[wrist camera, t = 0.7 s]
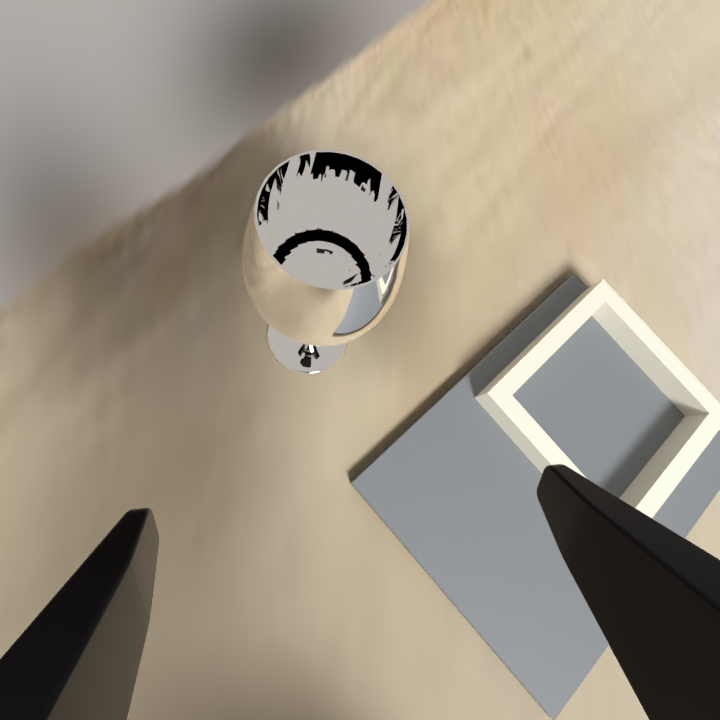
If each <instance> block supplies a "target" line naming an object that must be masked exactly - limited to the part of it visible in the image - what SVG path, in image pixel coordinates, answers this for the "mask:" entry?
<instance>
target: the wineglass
mask: <svg viewBox="0 0 720 720" xmlns="http://www.w3.org/2000/svg"><path fill="white" fill-rule="evenodd" d="M409 229H410V225H409V217H408V210H407V207H406V205H405V202H404V200H403V197H402V195H401V193H400V191H399V189H398V188H397V186H396V185H395V184H394V182H393V181H392V180H391V179H390V178H389V177H388V176H387V175H386V174H385V173H384V172H383V171H382V170H381V169H379V168H378V167H377V166H376V165H374V164H372V163H370V162H369V161H367V160H365V159H363V158H361V157H358V156H356V155H354V154H351V153H346V152H342V151H338V150H314V151H306V152H303V153H300V154H297V155H295V156H292V157H290V158H288V159H287V160H285V161H283V162H282V163H280V164H279V165H277V166H276V167H275V168H274V169H273V170H272V171H271V172H270V173H269V175H268V176H267V177H266V178H265V180H264V181H263V183H262V185H261V187H260V189H259V191H258V193H257V195H256V197H255V200H254V203H253V206H252V208H251V211H250V214H249V218H248V221H247V226H246V230H245V234H244V241H243V248H242V264H243V276H244V281H245V285H246V288H247V291H248V294H249V296H250V298H251V300H252V302H253V304H254V306H255V307H256V309H257V311H258V313H259V314H260V315H261V316H262V318H263V319H264V320H265V322H266V323H267V324H269V326H268V331H267V338H268V344H269V347H270V350H271V352H272V353H273V355H274V356H275V358H276V359H277V360H278V361H279V362H280V363H281V364H282V365H283V366H285V367H286V368H288V369H290V370H292V371H295V372H298V373H301V374H315V373H320V372H323V371H325V370H328V369H329V368H331V367H332V366H334V365H335V364H336V363H337V362H338V361H339V360H340V359H341V357H342V356H343V354H344V353H345V350H346V347H347V343H348V342H350V341H352V340H354V339H356V338H358V337H360V336H362V335H363V334H365V333H366V332H368V331H369V330H370V329H372V328H373V327H374V326H375V325H376V324H377V323H378V322H379V321H380V320H381V319H382V318H383V317H384V315H385V314H386V313H387V311H388V310H389V308H390V307H391V305H392V303H393V301H394V300H395V298H396V296H397V293H398V290H399V288H400V285H401V282H402V279H403V275H404V271H405V267H406V259H407V253H408V247H409Z"/></svg>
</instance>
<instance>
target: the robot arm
mask: <svg viewBox="0 0 720 720" xmlns="http://www.w3.org/2000/svg"><path fill="white" fill-rule="evenodd" d="M537 498H538V501H539V503H540V505H541V508H542V510H543V513H544V515H545V517H546V520H547V522H548V525H549V527H550V529H551V532H552V534H553V537H554V539H555V541H556V544H557V546H558V548H559V551H560V553H561V555H562V557H563V559H564V561H565V563H566V565H567V567H568V569H569V571H570V573H571V575H572V576H573V578H574V580H575V582H576V584H577V586H578V588H579V589H580V591H581V593H582V595H583V597H584V599H585V601H586V603H587V604H588V606H589V608H590V610H591V612H592V614H593V616H594V617H595V619H596V621H597V623H598V625H599V627H600V629H601V631H602V632H603V634H604V636H605V638H606V640H607V642H608V644H609V645H610V647H611V649H612V651H613V653H614V655H615V657H616V658H617V660H618V662H619V664H620V666H621V668H622V670H623V672H624V673H625V675H626V677H627V679H628V681H629V683H630V685H631V686H632V688H633V690H634V692H635V694H636V696H637V698H638V700H639V701H640V703H641V705H642V707H643V709H644V711H645V713H646V714H647V716H648V718H649V720H720V560H719V559H717V558H716V557H714V556H712V555H711V554H709V553H708V552H706V551H704V550H703V549H701V548H699V547H698V546H696V545H695V544H693V543H691V542H690V541H688V540H686V539H685V538H683V537H681V536H680V535H678V534H677V533H675V532H673V531H672V530H670V529H668V528H667V527H665V526H664V525H662V524H660V523H659V522H657V521H655V520H654V519H652V518H650V517H649V516H647V515H646V514H644V513H642V512H641V511H639V510H637V509H636V508H634V507H633V506H631V505H629V504H628V503H626V502H624V501H623V500H621V499H619V498H618V497H616V496H615V495H613V494H611V493H610V492H608V491H606V490H605V489H603V488H602V487H600V486H598V485H597V484H595V483H593V482H592V481H590V480H588V479H587V478H585V477H584V476H582V475H580V474H579V473H577V472H575V471H574V470H572V469H571V468H569V467H567V466H565V465H563V464H555V465H548V466H546V467H545V468H544V470H543V473H542V476H541V478H540V481H539V484H538V487H537ZM158 544H159V536H158V531H157V527H156V524H155V520H154V516H153V513H152V511H151V509H149V508H141V509H132V510H129V511H128V512H126V514H125V515H124V516H123V517H122V518H121V519H120V520H119V522H118V523H117V524H116V525H115V526H114V527H113V529H112V530H111V531H110V532H109V533H108V534H107V536H106V537H105V538H104V539H103V540H102V541H101V543H100V544H99V545H98V546H97V547H96V548H95V550H94V551H93V552H92V553H91V554H90V555H89V557H88V558H87V559H86V560H85V561H84V562H83V563H82V565H81V566H80V567H79V568H78V569H77V570H76V572H75V573H74V574H73V575H72V576H71V577H70V579H69V580H68V581H67V582H66V583H65V584H64V586H63V587H62V588H61V589H60V590H59V591H58V593H57V594H56V595H55V596H54V597H53V598H52V600H51V601H50V602H49V603H48V604H47V605H46V607H45V608H44V609H43V610H42V611H41V612H40V614H39V615H38V616H37V617H36V618H35V619H34V620H33V622H32V623H31V624H30V625H29V626H28V627H27V629H26V630H25V631H24V632H23V633H22V634H21V636H20V637H19V638H18V639H17V640H16V641H15V643H14V644H13V645H12V646H11V647H10V648H9V650H8V651H7V652H6V653H5V654H4V655H3V657H2V658H1V659H0V720H127V716H128V711H129V707H130V703H131V698H132V694H133V690H134V686H135V681H136V677H137V673H138V668H139V664H140V660H141V656H142V651H143V647H144V643H145V638H146V634H147V629H148V624H149V619H150V612H151V604H152V596H153V587H154V579H155V570H156V562H157V553H158Z"/></svg>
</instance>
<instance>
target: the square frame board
mask: <svg viewBox="0 0 720 720" xmlns="http://www.w3.org/2000/svg"><path fill="white" fill-rule="evenodd" d="M719 429H720V403H719V402H718V401H717V400H716V399H715V398H714V397H713V396H712V395H711V394H710V392H709V391H708V390H707V389H706V388H705V387H704V386H703V385H702V384H701V383H700V382H699V381H698V380H697V379H696V378H695V376H694V375H693V374H692V373H691V372H690V371H689V370H688V369H687V368H686V367H685V366H684V365H683V364H682V363H681V361H680V360H679V359H678V358H677V357H676V356H675V355H674V354H673V353H672V352H671V351H670V350H669V349H668V348H667V347H666V345H665V344H664V343H663V342H662V341H661V340H660V339H659V338H658V337H657V336H656V335H655V334H654V333H653V332H652V330H651V329H650V328H649V327H648V326H647V325H646V324H645V323H644V322H643V321H642V320H641V319H640V318H639V317H638V316H637V314H636V313H635V312H634V311H633V310H632V309H631V308H630V307H629V306H628V305H627V304H626V303H625V302H624V301H623V300H622V298H621V297H620V296H619V295H618V294H617V293H616V292H615V291H614V290H613V289H612V288H611V287H610V286H609V285H608V283H607V282H606V281H605V280H604V279H603V280H601V281H600V282H598V283H596V284H595V285H593V286H591V287H589V288H587V287H586V286H585V285H584V284H583V282H582V281H581V280H580V279H579V278H578V277H577V276H576V275H575V274H573V275H572V276H570V277H569V278H568V279H567V280H566V281H564V282H563V283H562V284H561V285H560V286H559V287H558V288H557V289H556V290H555V291H554V292H553V293H552V294H551V295H550V296H549V297H547V298H546V299H545V300H544V301H543V302H542V303H541V304H540V305H539V306H538V307H537V308H536V309H535V310H534V311H533V312H531V313H530V314H529V315H528V316H527V317H526V318H525V319H524V320H523V321H522V322H521V323H520V324H519V325H518V326H517V327H515V328H514V329H513V330H512V331H511V332H510V333H509V334H508V335H507V336H506V337H505V338H504V339H503V340H502V341H501V342H500V343H498V344H497V345H496V346H495V347H494V348H493V349H492V350H491V351H490V352H489V353H488V354H487V355H486V356H485V357H484V358H482V359H481V360H480V361H479V362H478V363H477V364H476V365H475V366H474V367H473V368H472V369H471V370H470V371H469V372H468V373H467V374H465V375H464V376H463V377H462V378H461V379H460V380H459V381H458V382H457V383H456V384H455V385H454V386H453V387H452V388H451V389H449V390H448V391H447V392H446V393H445V394H444V395H443V396H442V397H441V398H440V399H439V400H438V401H437V402H436V403H435V404H433V405H432V406H431V407H430V408H429V409H428V410H427V411H426V412H425V413H424V414H423V415H422V416H421V417H420V418H419V419H418V420H416V421H415V422H414V423H413V424H412V425H411V426H410V427H409V428H408V429H407V430H406V431H405V432H404V433H403V434H402V435H400V436H399V437H398V438H397V439H396V440H395V441H394V442H393V443H392V444H391V445H390V446H389V447H388V448H387V449H386V450H385V451H383V452H382V453H381V454H380V455H379V456H378V457H377V458H376V459H375V460H374V461H373V462H372V463H371V464H370V465H369V466H367V467H366V468H365V469H364V470H363V471H362V472H361V473H360V474H359V475H358V476H357V477H356V478H355V479H354V480H353V481H351V482H350V483H351V484H352V486H353V487H354V488H355V489H356V490H357V491H358V493H359V494H360V495H361V496H362V497H363V498H364V500H365V501H366V502H367V503H368V504H369V506H370V507H371V508H372V509H373V510H374V511H375V513H376V514H377V515H378V516H379V517H380V518H381V520H382V521H383V522H384V523H385V524H386V526H387V527H388V528H389V529H390V530H391V531H392V533H393V534H394V535H395V536H396V537H397V538H398V540H399V541H400V542H401V543H402V544H403V546H404V547H405V548H406V549H407V550H408V551H409V553H410V554H411V555H412V556H413V557H414V558H415V560H416V561H417V562H418V563H419V564H420V566H421V567H422V568H423V569H424V570H425V571H426V573H427V574H428V575H429V576H430V577H431V578H432V580H433V581H434V582H435V583H436V584H437V586H438V587H439V588H440V589H441V590H442V591H443V593H444V594H445V595H446V596H447V597H448V598H449V600H450V601H451V602H452V603H453V604H454V606H455V607H456V608H457V609H458V610H459V611H460V613H461V614H462V615H463V616H464V617H465V618H466V620H467V621H468V622H469V623H470V624H471V625H472V627H473V628H474V629H475V630H476V631H477V633H478V634H479V635H480V636H481V637H482V638H483V640H484V641H485V642H486V643H487V644H488V645H489V647H490V648H491V649H492V650H493V651H494V653H495V654H496V655H497V656H498V657H499V658H500V660H501V661H502V662H503V663H504V664H505V665H506V667H507V668H508V669H509V670H510V671H511V673H512V674H513V675H514V676H515V677H516V678H517V680H518V681H519V682H520V683H521V684H522V685H523V687H524V688H525V689H526V690H527V691H528V693H529V694H530V695H531V696H532V697H533V698H534V700H535V701H536V702H537V703H538V704H539V705H540V707H541V708H542V709H543V710H544V711H545V713H546V714H547V715H548V716H549V717H551V718H552V719H553V720H555V719H556V718H557V716H558V715H559V714H560V712H561V711H562V709H563V708H564V707H565V705H566V704H567V702H568V701H569V700H570V698H571V697H572V695H573V694H574V693H575V691H576V690H577V688H578V687H579V686H580V684H581V683H582V681H583V680H584V679H585V677H586V676H587V674H588V673H589V672H590V670H591V669H592V667H593V666H594V665H595V663H596V662H597V660H598V659H599V658H600V656H601V655H602V653H603V652H604V651H605V649H606V648H607V646H608V645H609V644H608V642H607V640H606V638H605V636H604V634H603V632H602V631H601V629H600V627H599V625H598V623H597V621H596V619H595V617H594V616H593V614H592V612H591V610H590V608H589V606H588V604H587V603H586V601H585V599H584V597H583V595H582V593H581V591H580V589H579V588H578V586H577V584H576V582H575V580H574V578H573V576H572V575H571V573H570V571H569V569H568V567H567V565H566V563H565V561H564V559H563V557H562V555H561V553H560V551H559V548H558V546H557V544H556V541H555V539H554V537H553V534H552V532H551V529H550V527H549V525H548V522H547V520H546V517H545V515H544V513H543V510H542V508H541V505H540V503H539V501H538V498H537V487H538V484H539V481H540V478H541V476H542V473H543V470H544V468H545V467H546V466H548V465H555V464H563V465H565V466H567V467H569V468H571V469H572V470H574V471H575V472H577V473H579V474H580V475H582V476H584V477H585V478H587V479H588V480H590V481H592V482H593V483H595V484H597V485H598V486H600V487H602V488H603V489H605V490H606V491H608V492H610V493H611V494H613V495H615V496H616V497H618V498H619V499H621V500H623V501H624V502H626V503H628V504H629V505H631V506H633V507H634V508H636V509H637V510H639V511H641V512H642V513H644V514H646V515H647V516H649V517H650V518H652V519H654V520H655V521H657V522H659V523H660V524H662V525H664V526H665V527H667V528H668V529H670V530H672V531H673V532H675V533H677V534H678V535H680V536H681V537H683V538H685V537H686V536H687V535H688V533H689V532H690V530H691V529H692V528H693V526H694V525H695V523H696V522H697V521H698V519H699V518H700V516H701V515H702V514H703V512H704V511H705V509H706V508H707V507H708V505H709V504H710V502H711V501H712V500H713V498H714V497H715V495H716V494H717V493H718V491H719V490H720V430H719Z"/></svg>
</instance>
